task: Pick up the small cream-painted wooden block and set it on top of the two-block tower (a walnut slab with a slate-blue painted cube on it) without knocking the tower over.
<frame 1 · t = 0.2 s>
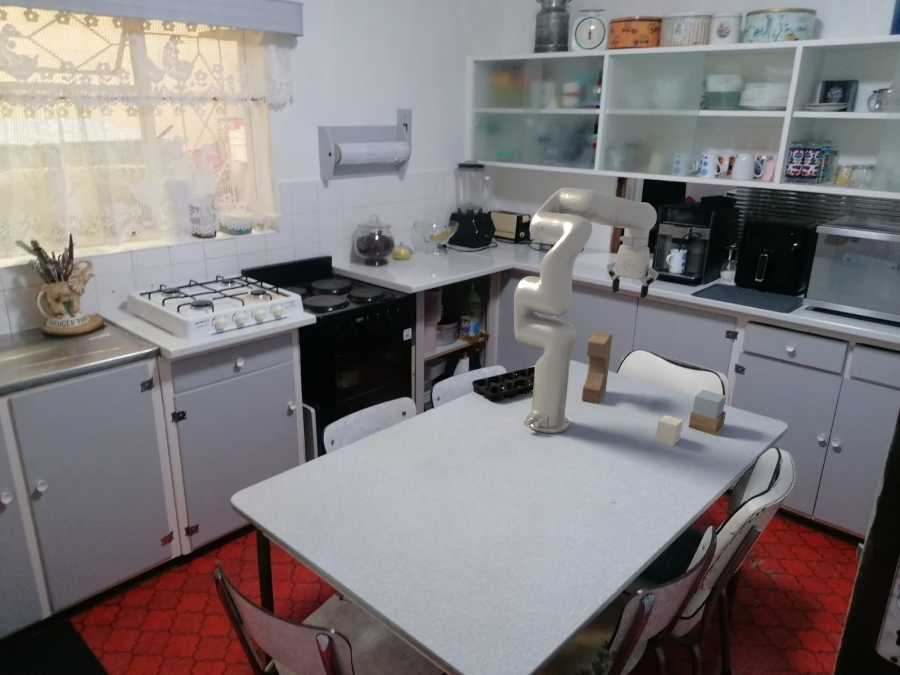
hand: (629, 294, 211), 31 cm above the table, fingers open, 9 cm apart
tower top: (708, 411, 189), point 5 cm above the table, touching tower base
cream block: (667, 440, 181), on the table
tower base: (705, 427, 190), on the table, touching tower top
egg carton: (515, 390, 214), on the table
decorative block: (593, 397, 209), on the table
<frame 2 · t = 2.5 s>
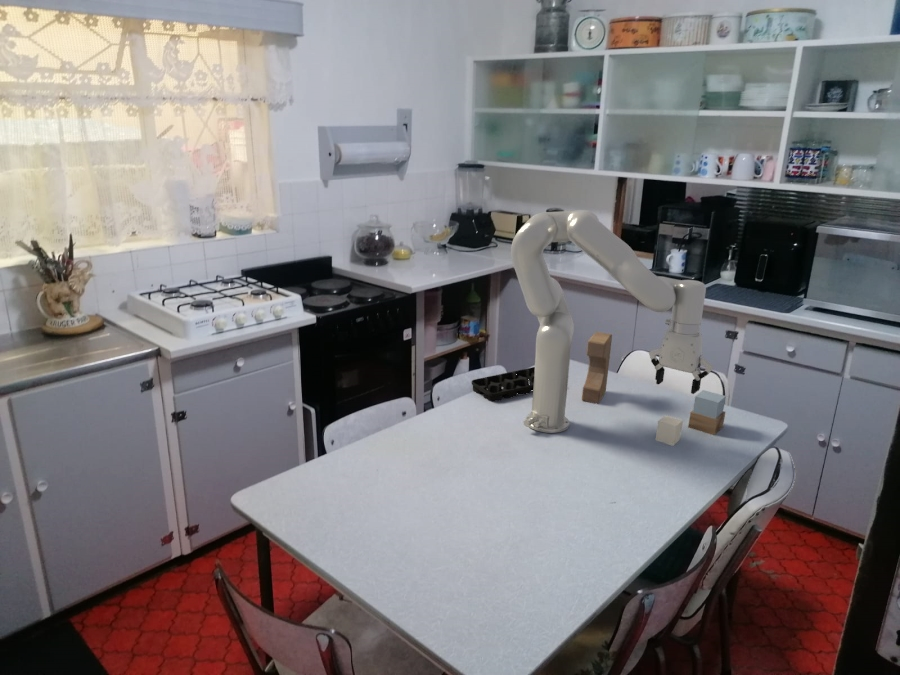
hand: (676, 387, 176), 16 cm above the table, fingers open, 9 cm apart
nothing on the table moved.
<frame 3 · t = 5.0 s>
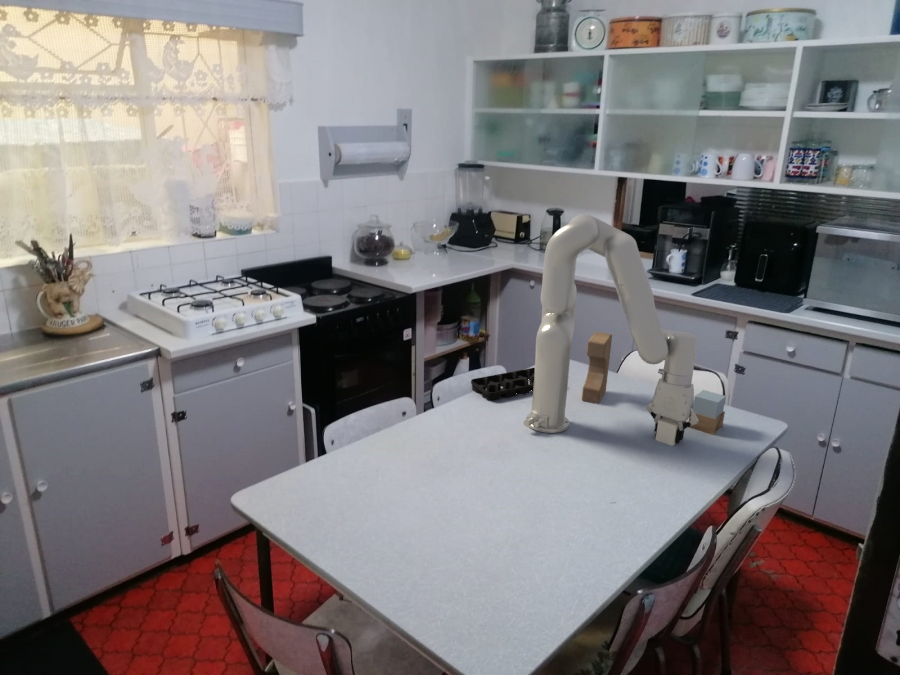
hand: (668, 437, 181), 1 cm above the table, fingers closed on cream block, 5 cm apart
cream block: (667, 439, 181), on the table, touching gripper
everything else where it was.
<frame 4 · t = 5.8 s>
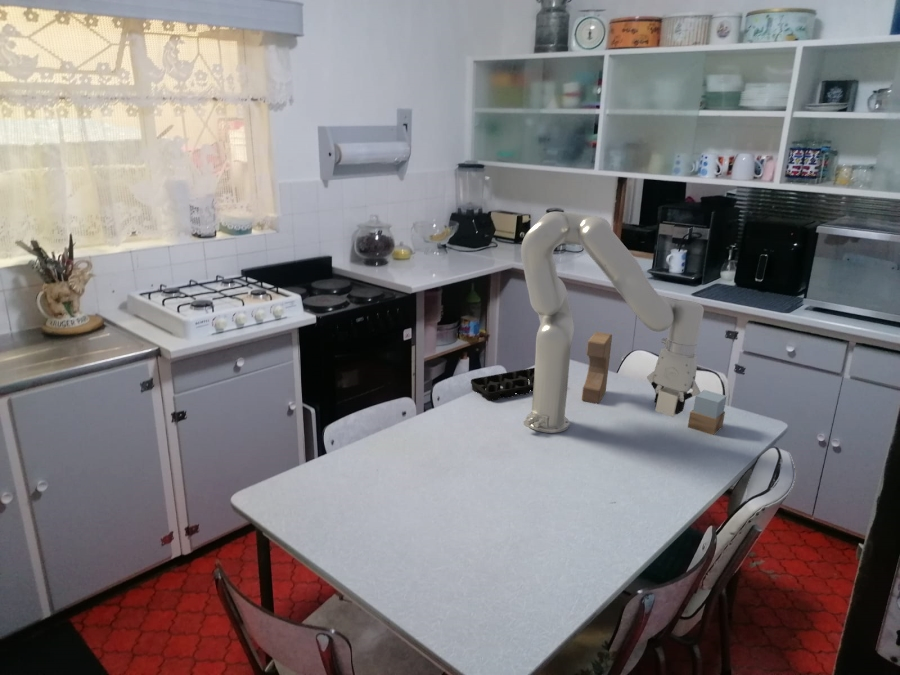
hand: (668, 408, 179), 9 cm above the table, fingers closed on cream block, 5 cm apart
cream block: (667, 411, 179), point 9 cm above the table, touching gripper
everything else where it was.
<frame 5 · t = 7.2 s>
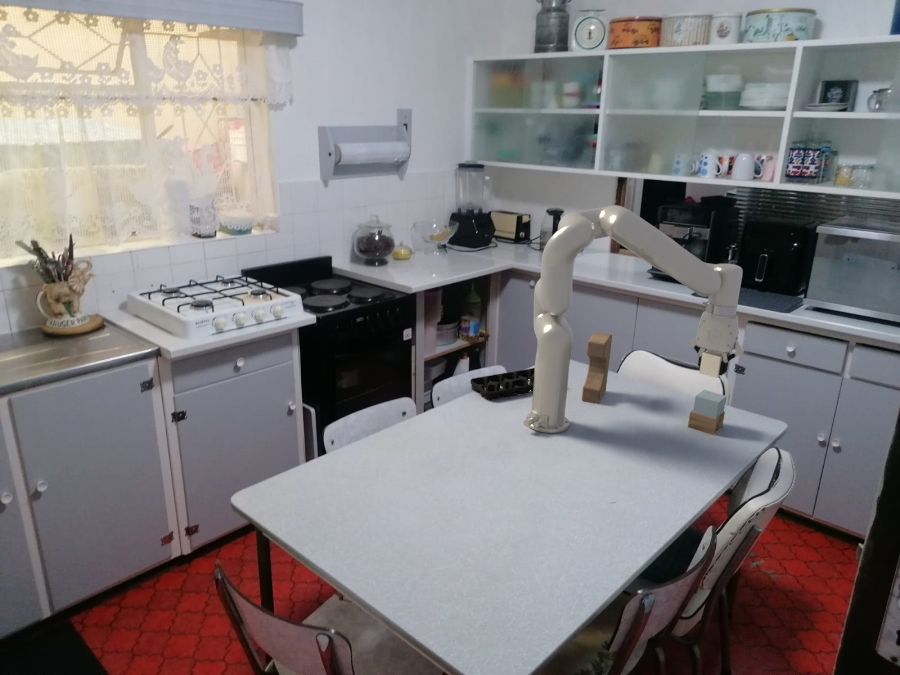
hand: (711, 371, 183), 18 cm above the table, fingers closed on cream block, 5 cm apart
cream block: (711, 373, 183), point 17 cm above the table, touching gripper
everything else where it was.
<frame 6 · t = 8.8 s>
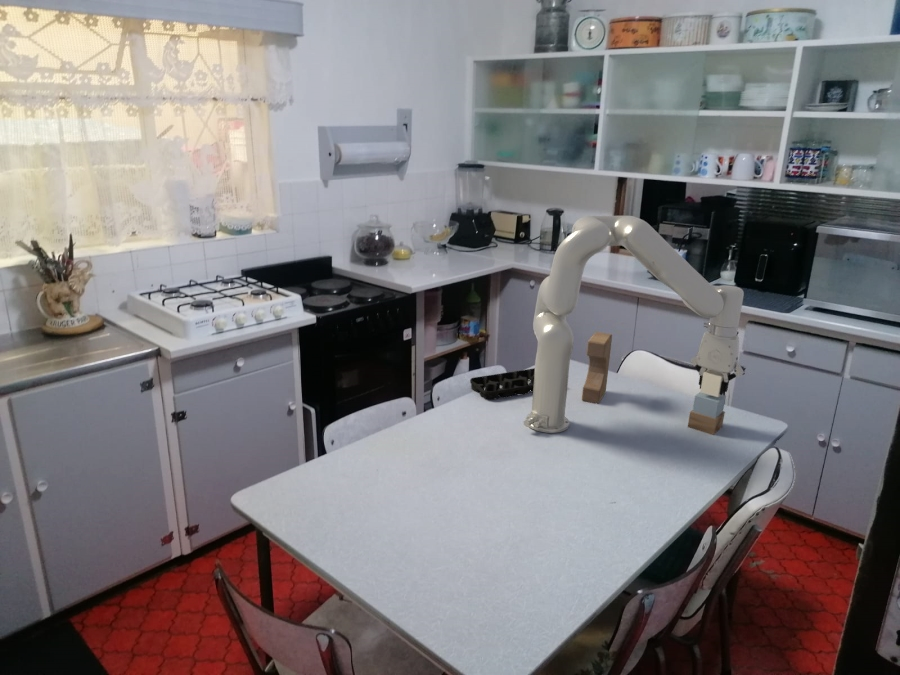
hand: (712, 390, 186), 12 cm above the table, fingers closed on cream block, 5 cm apart
cream block: (712, 392, 187), point 11 cm above the table, touching gripper
when the fingers open (12 cm above the table, at t = 9.6 s): cream block drops 1 cm, resting on tower top.
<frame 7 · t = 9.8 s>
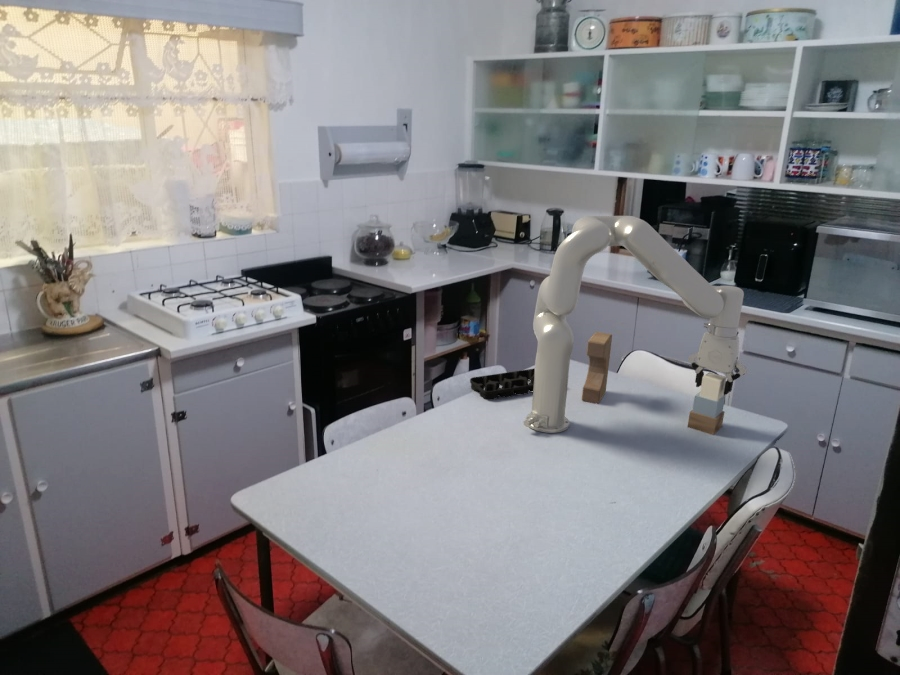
hand: (712, 389, 186), 12 cm above the table, fingers open, 7 cm apart
tower top: (707, 411, 189), point 5 cm above the table, touching cream block, tower base
cream block: (711, 396, 187), point 10 cm above the table, touching tower top
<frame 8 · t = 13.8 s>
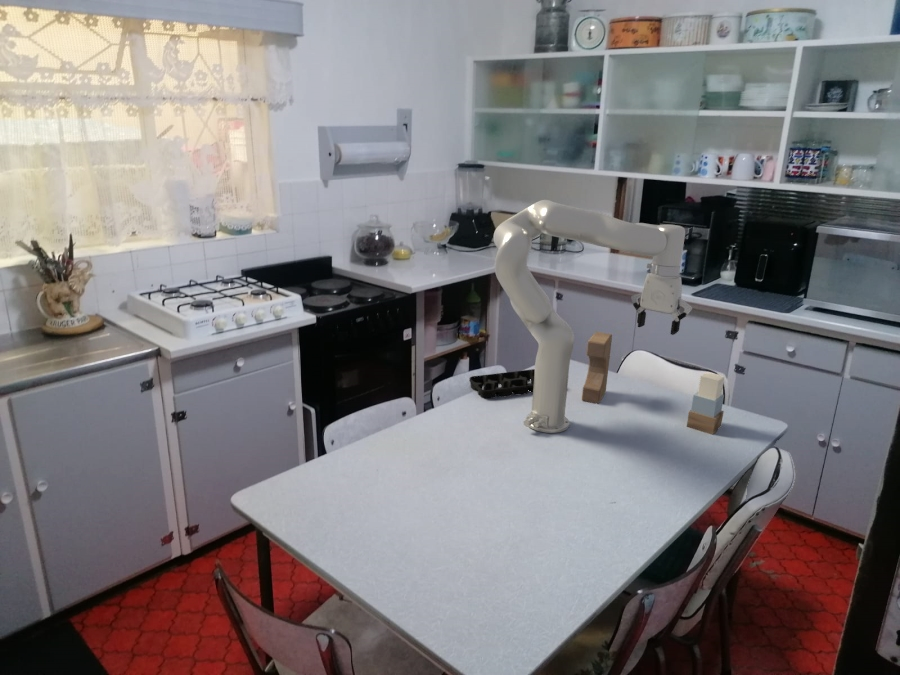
hand: (657, 329, 184), 28 cm above the table, fingers open, 9 cm apart
at the end: cream block 0.1 cm off-centre on the tower base, point 10.0 cm above the tower base's base; cream block tilted 0°; tower top moved 0.8 cm from its start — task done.
